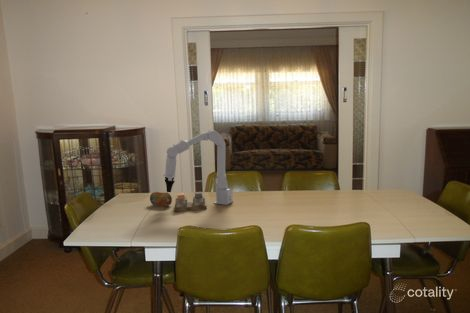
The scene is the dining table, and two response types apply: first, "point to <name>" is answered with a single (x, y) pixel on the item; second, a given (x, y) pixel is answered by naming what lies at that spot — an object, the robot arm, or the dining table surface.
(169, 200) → the tin
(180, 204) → the press board
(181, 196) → the terracotta plunger
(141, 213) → the dining table surface
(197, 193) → the grey cube
